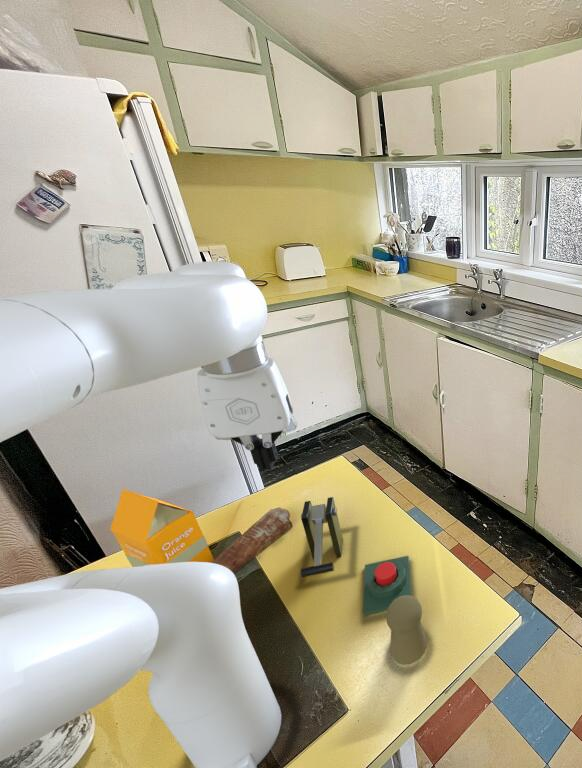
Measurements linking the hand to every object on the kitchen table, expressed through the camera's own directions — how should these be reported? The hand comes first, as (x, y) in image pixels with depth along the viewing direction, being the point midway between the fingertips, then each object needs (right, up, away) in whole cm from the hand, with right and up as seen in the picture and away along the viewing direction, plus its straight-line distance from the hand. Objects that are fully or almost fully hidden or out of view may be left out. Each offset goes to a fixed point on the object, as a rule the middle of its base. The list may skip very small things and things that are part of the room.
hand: (268, 464), depth 64 cm
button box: (+16, -25, +11) cm, 32 cm away
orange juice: (-24, -24, +13) cm, 36 cm away
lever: (+3, -16, +11) cm, 20 cm away
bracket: (+2, -22, +17) cm, 28 cm away
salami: (-13, -22, +16) cm, 31 cm away
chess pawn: (+22, -30, +2) cm, 37 cm away
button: (+16, -22, +9) cm, 29 cm away
